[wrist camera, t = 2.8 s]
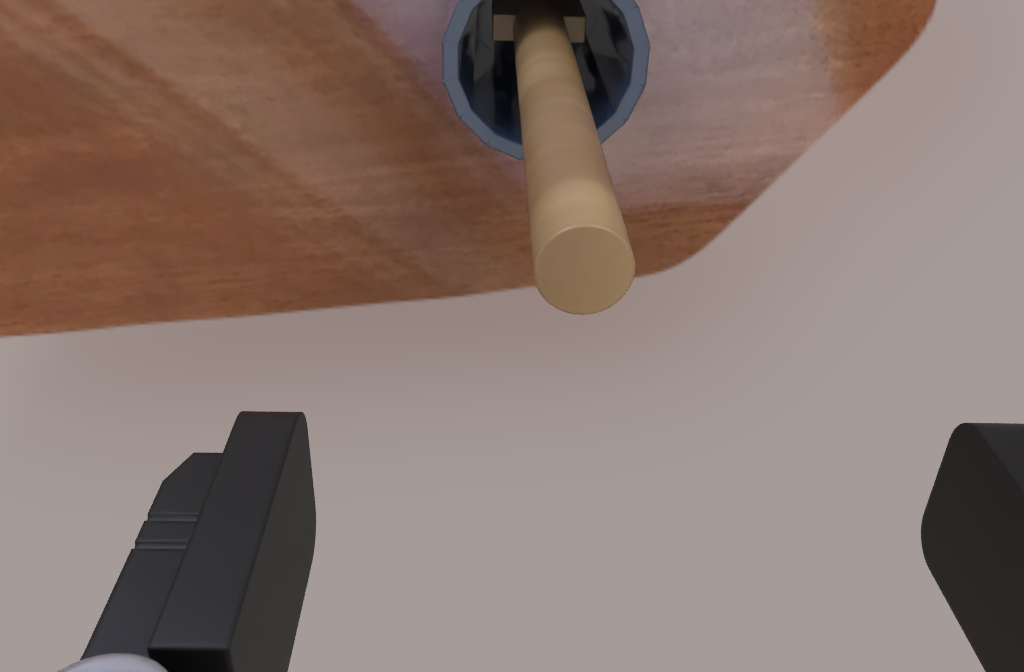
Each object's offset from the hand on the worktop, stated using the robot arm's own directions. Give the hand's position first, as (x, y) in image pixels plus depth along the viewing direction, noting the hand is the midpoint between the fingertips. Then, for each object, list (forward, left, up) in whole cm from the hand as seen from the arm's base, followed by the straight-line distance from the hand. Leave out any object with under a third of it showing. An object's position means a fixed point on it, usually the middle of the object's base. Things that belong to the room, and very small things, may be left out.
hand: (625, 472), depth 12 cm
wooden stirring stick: (0, 0, -29) cm, 29 cm away
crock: (0, 0, -29) cm, 29 cm away
